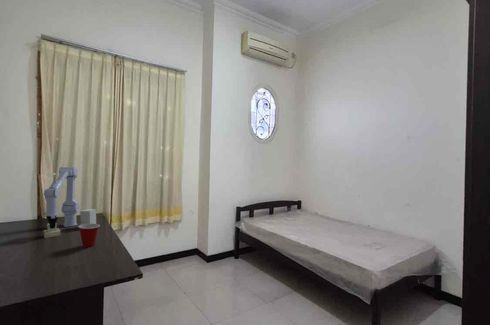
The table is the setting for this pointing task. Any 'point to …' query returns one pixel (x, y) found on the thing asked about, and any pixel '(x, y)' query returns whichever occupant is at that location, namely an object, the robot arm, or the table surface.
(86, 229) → the plastic cup
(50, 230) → the sage cube
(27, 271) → the table surface
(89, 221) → the supplement box
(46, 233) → the beech base
